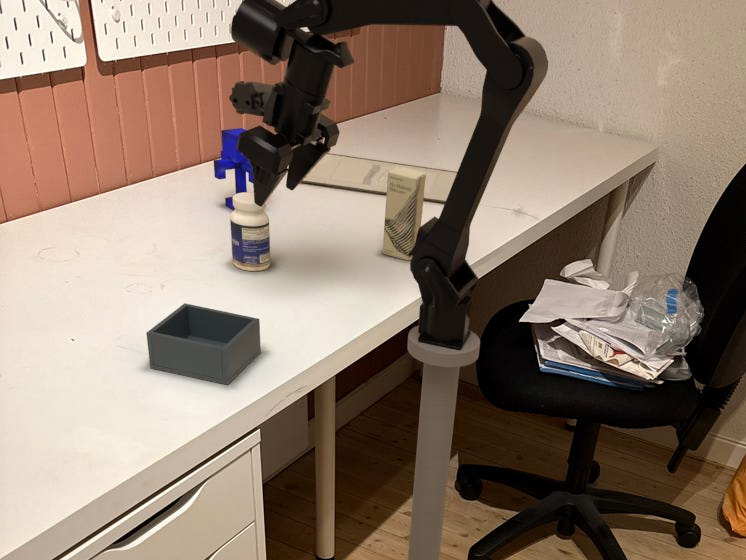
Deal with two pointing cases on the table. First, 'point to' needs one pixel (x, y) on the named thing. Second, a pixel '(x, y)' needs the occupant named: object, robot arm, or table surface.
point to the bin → (204, 343)
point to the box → (403, 211)
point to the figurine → (233, 163)
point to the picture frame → (375, 175)
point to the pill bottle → (249, 234)
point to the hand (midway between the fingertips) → (274, 196)
